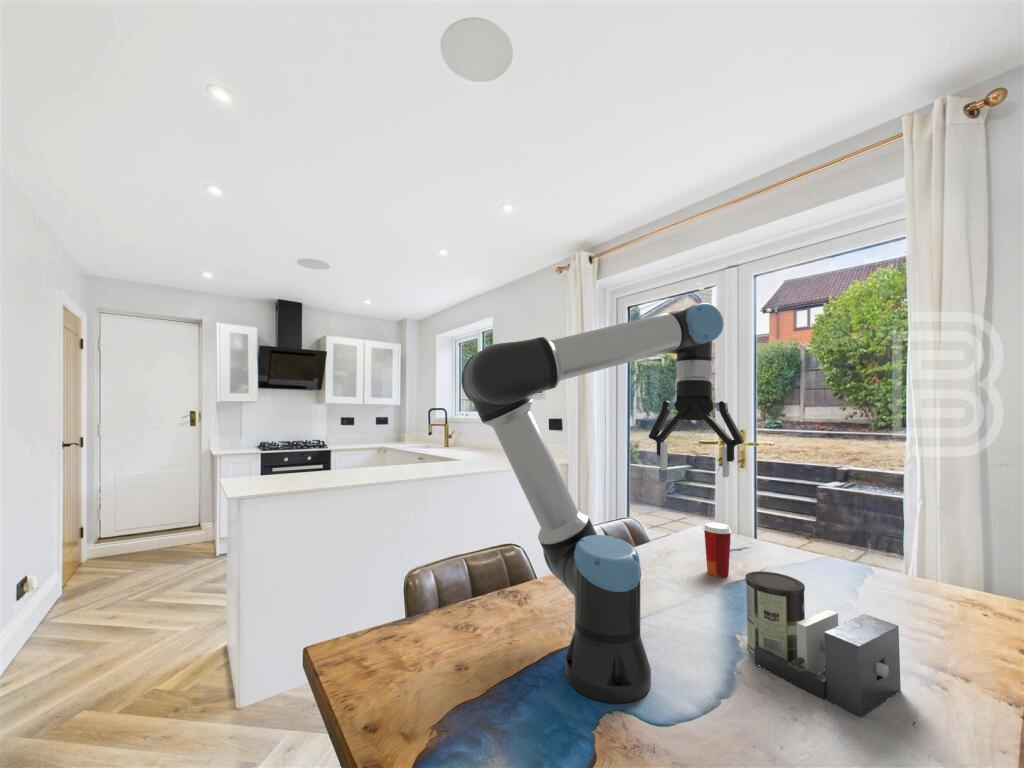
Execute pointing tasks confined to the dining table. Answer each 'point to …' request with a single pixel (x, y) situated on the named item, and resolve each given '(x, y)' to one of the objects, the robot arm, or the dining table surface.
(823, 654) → the pressure pad
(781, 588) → the coffee can
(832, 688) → the frame
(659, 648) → the dining table surface
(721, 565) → the paper cup
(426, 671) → the dining table surface
